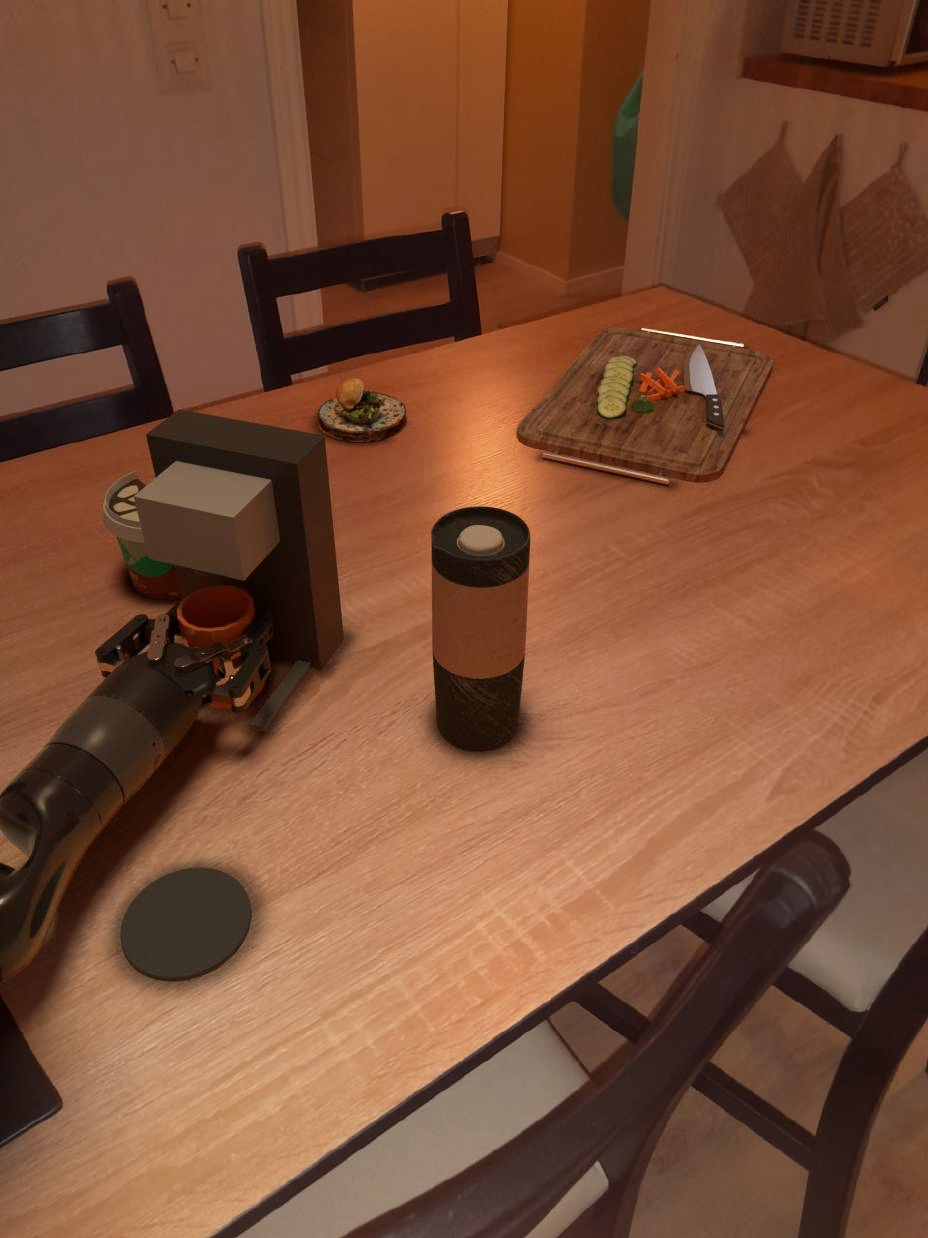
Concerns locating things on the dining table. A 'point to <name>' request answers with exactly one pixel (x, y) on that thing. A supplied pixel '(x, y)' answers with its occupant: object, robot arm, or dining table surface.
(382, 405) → the plate of food
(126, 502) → the food container
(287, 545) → the coffee maker
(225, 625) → the cup
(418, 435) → the dining table surface
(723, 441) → the chopping board
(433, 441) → the dining table surface
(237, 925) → the coaster
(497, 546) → the travel mug
